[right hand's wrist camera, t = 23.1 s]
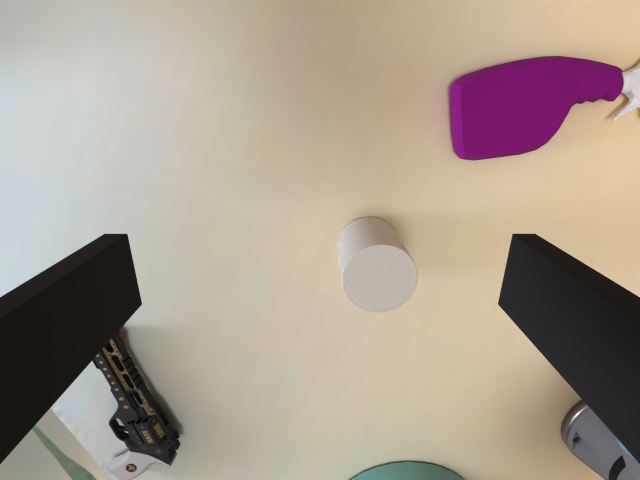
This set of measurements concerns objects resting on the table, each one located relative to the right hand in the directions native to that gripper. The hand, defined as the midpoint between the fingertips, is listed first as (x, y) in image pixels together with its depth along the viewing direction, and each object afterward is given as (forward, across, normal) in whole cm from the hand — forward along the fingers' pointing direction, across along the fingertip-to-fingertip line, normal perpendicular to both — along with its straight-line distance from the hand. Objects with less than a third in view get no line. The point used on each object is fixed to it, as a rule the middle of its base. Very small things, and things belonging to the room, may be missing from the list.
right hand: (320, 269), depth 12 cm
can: (+36, +7, -14) cm, 39 cm away
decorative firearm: (+35, -34, -42) cm, 64 cm away
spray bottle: (+36, +28, +6) cm, 46 cm away
